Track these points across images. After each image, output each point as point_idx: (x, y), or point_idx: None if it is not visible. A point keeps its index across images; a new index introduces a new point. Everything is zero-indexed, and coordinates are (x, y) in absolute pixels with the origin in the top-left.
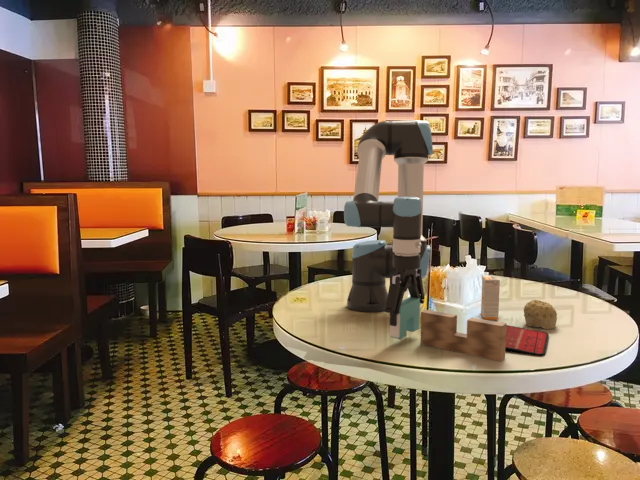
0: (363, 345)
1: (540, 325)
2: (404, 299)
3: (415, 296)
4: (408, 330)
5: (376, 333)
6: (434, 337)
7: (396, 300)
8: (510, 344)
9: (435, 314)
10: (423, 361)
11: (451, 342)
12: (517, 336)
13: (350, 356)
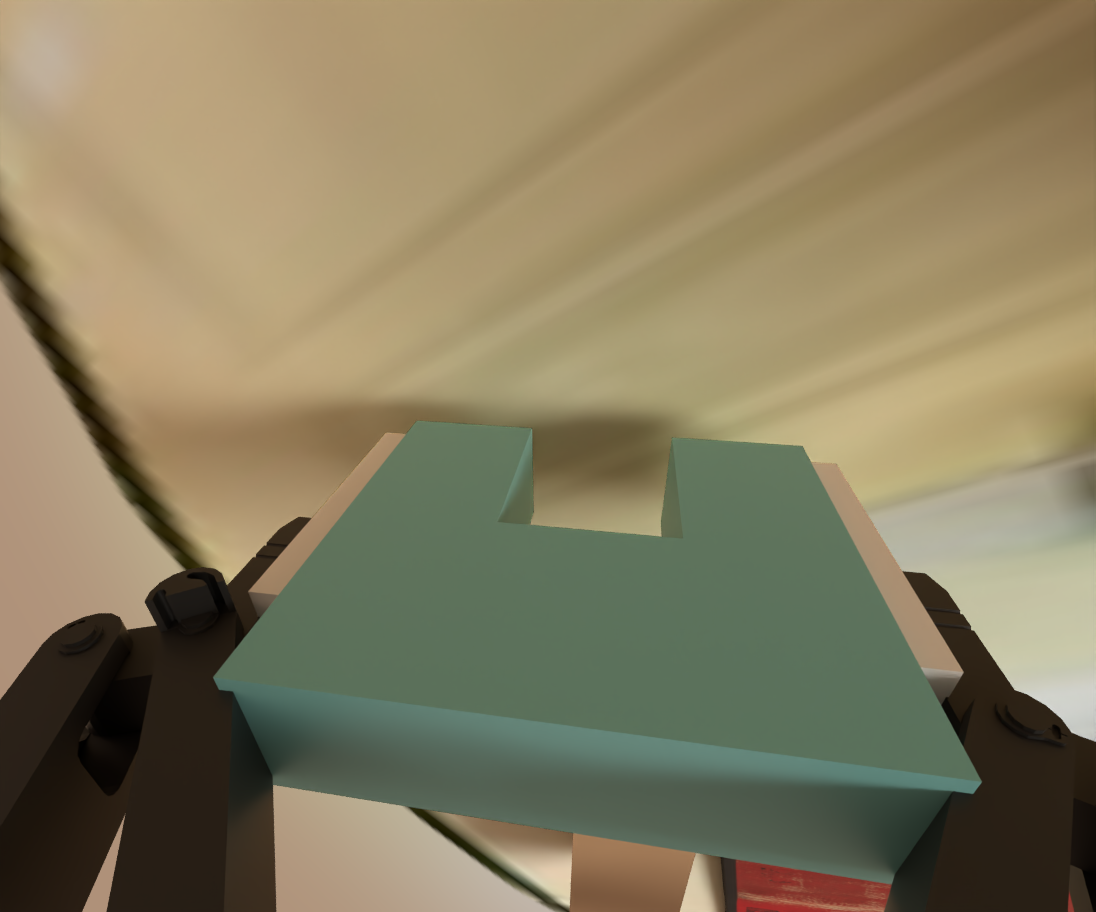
0: (253, 209)
1: None
2: (694, 747)
3: (900, 887)
4: (666, 484)
5: (655, 88)
6: None
7: (61, 900)
8: (780, 887)
9: (571, 884)
10: None
11: None
12: None
13: (8, 274)
